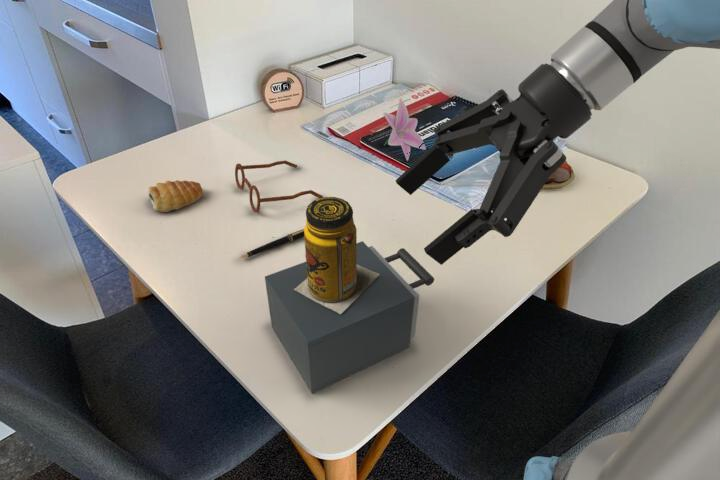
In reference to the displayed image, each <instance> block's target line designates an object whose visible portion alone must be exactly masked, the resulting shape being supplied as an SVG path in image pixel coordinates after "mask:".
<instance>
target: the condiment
mask: <svg viewBox="0 0 720 480" xmlns="http://www.w3.org/2000/svg"><path fill="white" fill-rule="evenodd" d="M305 217H306V219H305V226H304V228H303V229H304V236H303V240H304V249H305V250H304V251H305V262H306V265H307V276H308V277H307V279H306V280H304V281H303V282H302V283H301V284H300V285H299V286H298V287H296V288H295V289H294V290H295V291H297V292H299V293H301V294H303V295H304V296H306V297H308V298H310V299H312V300H313V301H315V302H317V303H319V304H321V305H323V306H325V307H327V308H329V309H332V310H333V311H335V312H337V313H339V314H341V313H342V312H343V311H345V310H346V309H347V308H348V307H349V306H350V305H351V303H353V302H354V301H355V300H356V299H357V297H359V296H360V294H361V293H362V292H363V291H364V290H365V289H366V288H367V287H368V286H369V285H370V284H371V283H372V282H373V281H374V280H375V279H376V278H377V277H378V276H379V275H380V274H379V273H376V272H373V271H371V270H368V269H366V268H364V267H361V266H359V265H357V259H356V258H357V248H356V244H357V243H358V242H357V226H356V224H355V221H354V209H353V207H352V206H351V204H350V203H349V201H347V200H345V199H344V198H340V197H336V196H323V198H316V199H314V200H312V201H311V202H310V203H309V204H308V205H307V207H306V210H305Z"/></svg>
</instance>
